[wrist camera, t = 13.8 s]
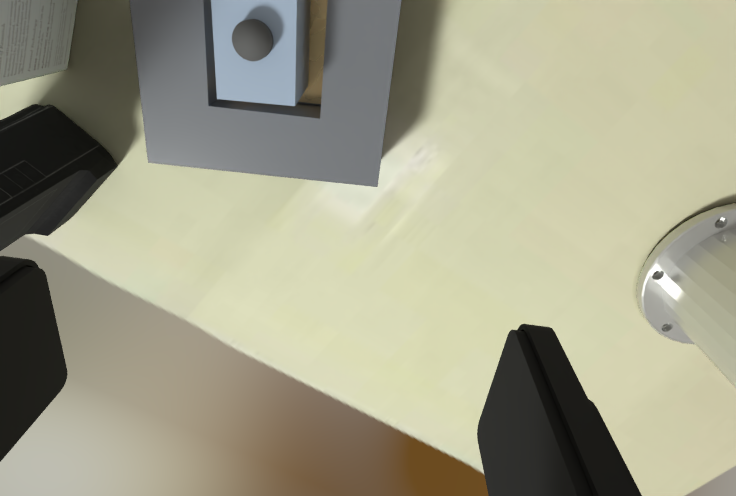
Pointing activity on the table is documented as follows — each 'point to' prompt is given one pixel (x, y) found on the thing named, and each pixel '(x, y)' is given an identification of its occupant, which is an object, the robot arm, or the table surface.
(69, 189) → the portable radio
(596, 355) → the table surface
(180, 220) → the table surface
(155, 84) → the socket block
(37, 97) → the table surface
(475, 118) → the table surface
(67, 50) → the skincare box
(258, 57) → the plug
